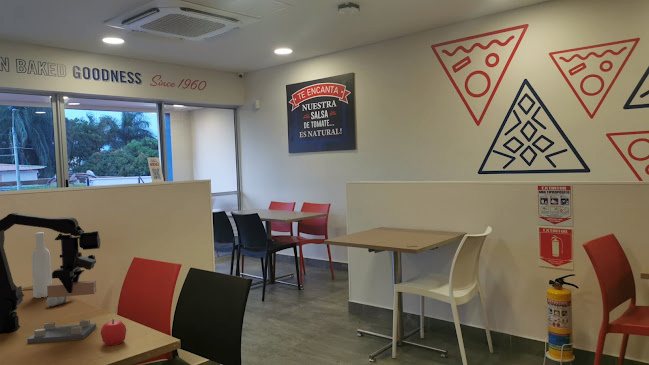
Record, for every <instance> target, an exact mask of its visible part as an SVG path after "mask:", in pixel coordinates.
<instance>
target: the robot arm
mask: <svg viewBox="0 0 649 365" xmlns="http://www.w3.org/2000/svg"><path fill="white" fill-rule="evenodd" d="M15 225H17V226H18V225H19V226H26V227H35V228H44V229H48V230H52V231H55V232H57V233H58V235H57V236H56V237H55V238H54V241H60V247H61V248H60V249H61V254H60V255H59V258H61V265H59V268H57V269H55V270H53V272H51V273H52V279H59V281H60V283H62V284H63V285H64V287H65V288H66V290H67V292H68V293H72V287H73V282H79V280H80V276H81V275H82V274H83V273H84V272H86V270H89V271H90V270H91V269H94V267H95V264H96V263H97V261H96V260H97V259H96V256H95V255H94V254H88V256H83V255H82V252H81V251H79V250H80V248H81V249H82V250H84V251H85V250H96V249H97V250H99V249H100V248H101V238H100V233H99V231H98V230H94V231H86V232H85V231H84V230H83V229H82V228H81V226H79V225H80V224H79V221H78V220H77V219H76V218H74V217H70V216H69V217H46V216H40V215H39V216H38V215H32V214H23V213H18V212H11V213H8V214H7V215H6V216H4V217H3V218H1V219H0V334H3V333H4V334H5V333H8V334H9V333H12V332H14V331H16V330H17V329H19V328H20V327H21V325H20V323H19V316H18V313H17V309H18V307H19V306H20V305H21V304H22V302H23V301H24V299H23V297H24V296H25V294H24V293H23V288H22V285H19V286H17V285H16V284H15V283H14V280H13V276H12V272H11V269H10V265H9V262H8V257H7V254H6V250H5V246H4V245H5V232H6V231H7V230H9V229H10V228H12V227H13V226H15Z"/></svg>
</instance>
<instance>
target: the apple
mask: <svg viewBox="0 0 649 365" xmlns="http://www.w3.org/2000/svg"><path fill="white" fill-rule="evenodd" d="M126 334H127V328H126V325H125V323H124V322H122V320H114V318H112V320H111V321H108V322H106V323H104V324H103V325H102V327H101V329H100V336H101V339H102V340H101V341H102V342H103V344H104V345H107V346H116V345H117V346H118V345H120V344H121V343H123V342H124V341H125V340H126V336H127V335H126Z"/></svg>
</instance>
